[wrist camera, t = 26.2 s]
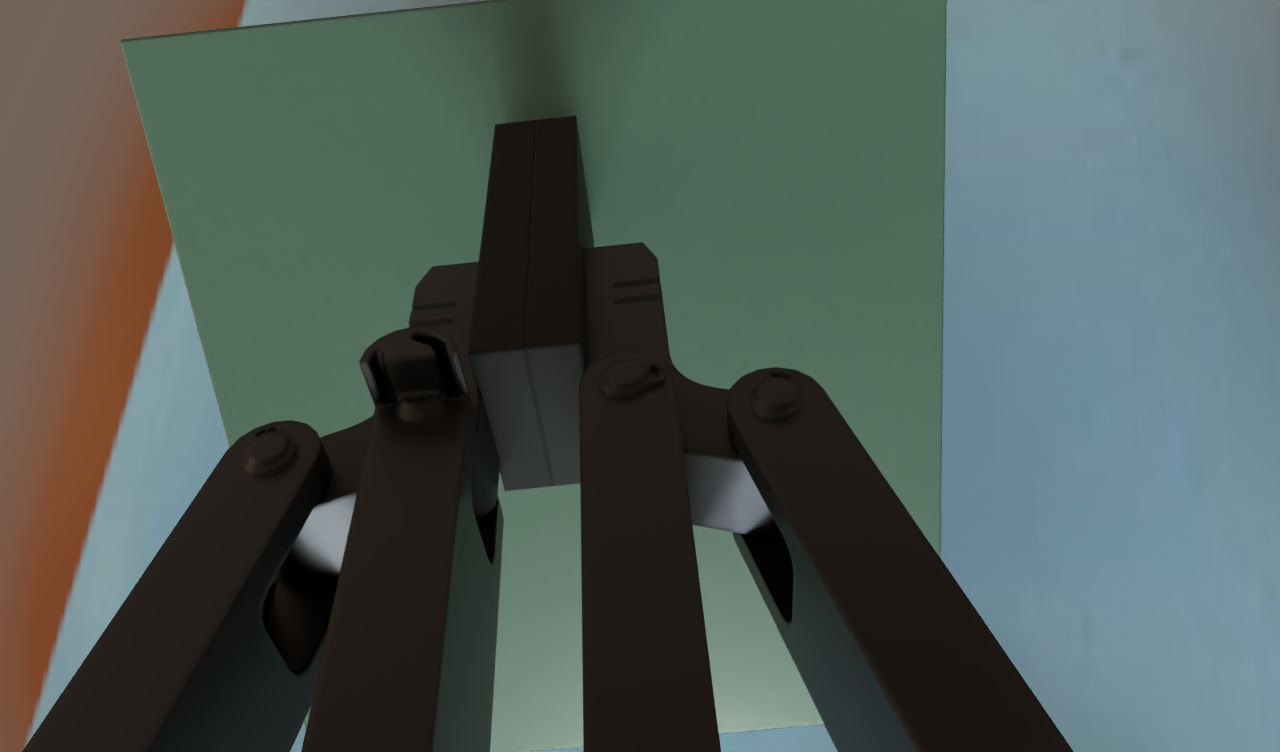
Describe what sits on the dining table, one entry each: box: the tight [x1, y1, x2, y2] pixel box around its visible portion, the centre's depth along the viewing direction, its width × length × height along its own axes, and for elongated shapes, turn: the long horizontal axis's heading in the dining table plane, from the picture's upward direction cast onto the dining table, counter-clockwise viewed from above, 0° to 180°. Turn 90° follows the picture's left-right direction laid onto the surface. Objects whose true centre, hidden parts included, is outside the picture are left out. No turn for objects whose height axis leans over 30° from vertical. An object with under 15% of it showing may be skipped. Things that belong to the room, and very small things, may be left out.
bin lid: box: [120, 0, 947, 752], centre depth 21 cm, size 17×16×1 cm
